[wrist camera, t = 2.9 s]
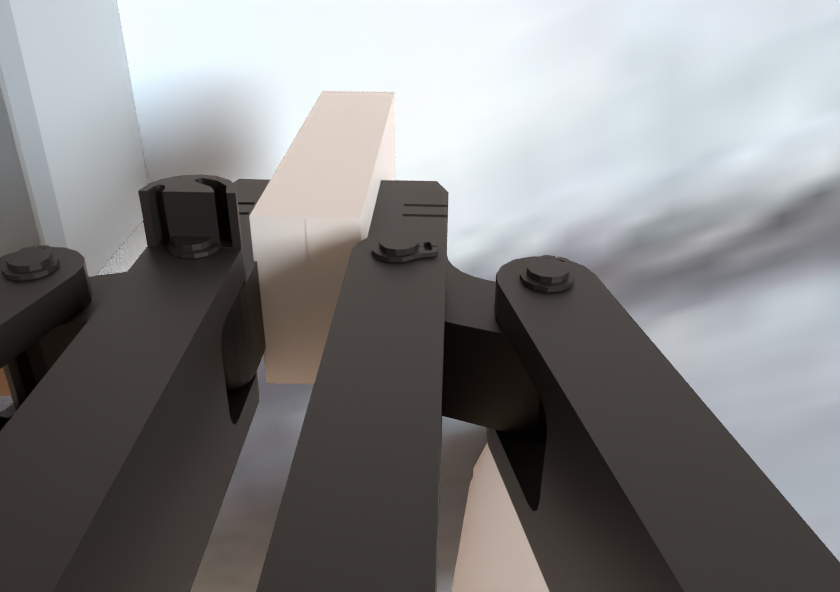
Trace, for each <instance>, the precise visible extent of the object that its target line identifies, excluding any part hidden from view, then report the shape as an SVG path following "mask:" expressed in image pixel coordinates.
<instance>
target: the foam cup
mask: <svg viewBox="0 0 840 592" xmlns="http://www.w3.org/2000/svg"><path fill="white" fill-rule="evenodd" d="M451 592H549V590H548V587H547V585H546V582H545V580H544V578H543V575H542V573H541V570H540V568H539V566H538V563H537V561H536V559H535V556H534V554H533V551H532V549H531V547H530V544H529V542H528V540H527V537H526V535H525V532H524V530H523V528H522V525H521V523H520V520H519V518H518V516H517V513H516V511H515V509H514V506H513V504H512V501H511V499H510V497H509V494H508V492H507V489H506V487H505V485H504V482H503V480H502V478H501V475H500V473H499V470H498V468H497V466H496V463H495V461H494V459H493V456H492V454H491V451H490V449H489V447H488V443H487V444H486V445H485V447H484V449H483V451H482V453H481V455H480V457H479V459H478V460H477V462H476V464H475V466H474V468H473V478H472V480H471V482H470V486H469V492H468V498H467V504H466V510H465V515H464V521H463V527H462V533H461V539H460V545H459V550H458V556H457V562H456V568H455V574H454V579H453V585H452V591H451Z"/></svg>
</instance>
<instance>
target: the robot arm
mask: <svg viewBox="0 0 840 592" xmlns="http://www.w3.org/2000/svg"><path fill="white" fill-rule="evenodd" d="M138 193H139V199H140V205H141V210H142V216H143V222H144V228H145V233H146V239H147V245H148V247H147V248H146V249H145V250H144V252H143V253H142V254H141V255H140V257H139V258H138V259H137V260H136V262H135V263H134V264H133V265H132V267H131V268H130V269H129V270H128V272H123V273H116V274H108V275H100V276H92V277H89V276H88V272H87V267H86V262H85V258H84V257H83V256H82V255H81V254H80V253H79V252H78V251H75V250H72V249H68V248H65V247H50V246H48V245H41V246H37V248H35V246H31V247H25V248H22V249H20V251H17V252H13V253H9V254H6V255H4V256H1V257H0V369H1V368H2V367H3V369H4V373H5V376H6V379H7V383H8V386H9V390H10V393H11V396H12V400H13V404H12V405H10V406H9V407H8V408H7V409H6V410H4V411H2V412H0V592H190V590H191V587H192V585H193V582H194V579H195V576H196V574H197V571H198V568H199V565H200V563H201V560H202V557H203V554H204V552H205V549H206V546H207V543H208V541H209V538H210V535H211V532H212V529H213V527H214V524H215V521H216V518H217V516H218V513H219V510H220V507H221V505H222V502H223V499H224V496H225V494H226V491H227V488H228V485H229V483H230V480H231V477H232V474H233V472H234V469H235V466H236V463H237V461H238V458H239V455H240V452H241V449H242V447H243V444H244V441H245V438H246V436H247V433H248V430H249V427H250V425H251V422H252V419H253V416H254V414H255V411H256V408H257V405H258V403H259V388H258V379H257V369H258V366H259V364H260V361H261V358H262V356H263V353H264V363H265V372H266V382H267V383H289V384H314V386H313V390H312V394H311V397H310V401H309V404H308V408H307V412H306V415H305V419H304V422H303V426H302V430H301V433H300V437H299V440H298V444H297V447H296V451H295V455H294V458H293V462H292V465H291V469H290V473H289V476H288V480H287V483H286V487H285V491H284V494H283V498H282V501H281V505H280V508H279V512H278V516H277V519H276V523H275V526H274V530H273V534H272V537H271V541H270V544H269V548H268V552H267V555H266V559H265V562H264V566H263V570H262V573H261V577H260V580H259V584H258V587H257V591H256V592H436V589H437V558H438V528H439V497H440V466H441V440H442V416H445V417H449V418H453V419H457V420H461V421H465V422H469V423H472V424H476V425H480V426H484V427H487V432H486V434H487V443H488V447H489V449H490V451H491V454H492V456H493V459H494V461H495V463H496V466H497V468H498V470H499V473H500V475H501V478H502V480H503V482H504V485H505V487H506V489H507V492H508V494H509V497H510V499H511V501H512V504H513V506H514V509H515V511H516V513H517V516H518V518H519V520H520V523H521V525H522V528H523V530H524V532H525V535H526V537H527V540H528V542H529V544H530V547H531V549H532V551H533V554H534V556H535V559H536V561H537V563H538V566H539V568H540V570H541V573H542V575H543V578H544V580H545V582H546V585H547V587H548V590H549V592H840V562H839V561H838V560H837V559H836V557H835V556H834V555H833V554H832V553H831V552H830V550H829V549H828V548H827V547H826V546H825V545H824V543H823V542H822V541H821V540H820V539H819V537H818V536H817V535H816V534H815V533H814V532H813V530H812V529H811V528H810V527H809V526H808V524H807V523H806V522H805V521H804V520H803V519H802V517H801V516H800V515H799V514H798V513H797V512H796V510H795V509H794V508H793V507H792V506H791V504H790V503H789V502H788V501H787V500H786V499H785V497H784V496H783V495H782V494H781V493H780V492H779V490H778V489H777V488H776V487H775V486H774V484H773V483H772V482H771V481H770V480H769V479H768V477H767V476H766V475H765V474H764V473H763V472H762V470H761V469H760V468H759V467H758V466H757V464H756V463H755V462H754V461H753V460H752V459H751V457H750V456H749V455H748V454H747V453H746V451H745V450H744V449H743V448H742V447H741V446H740V444H739V443H738V442H737V441H736V440H735V439H734V437H733V436H732V435H731V434H730V433H729V431H728V430H727V429H726V428H725V427H724V426H723V424H722V423H721V422H720V421H719V420H718V419H717V417H716V416H715V415H714V414H713V413H712V411H711V410H710V409H709V408H708V407H707V406H706V404H705V403H704V402H703V401H702V400H701V399H700V397H699V396H698V395H697V394H696V393H695V391H694V390H693V389H692V388H691V387H690V386H689V384H688V383H687V382H686V381H685V380H684V378H683V377H682V376H681V375H680V374H679V373H678V371H677V370H676V369H675V368H674V367H673V366H672V364H671V363H670V362H669V361H668V360H667V358H666V357H665V356H664V355H663V354H662V353H661V351H660V350H659V349H658V348H657V347H656V346H655V344H654V343H653V342H652V341H651V340H650V338H649V337H648V336H647V335H646V334H645V333H644V331H643V330H642V329H641V328H640V327H639V325H638V324H637V323H636V322H635V321H634V320H633V318H632V317H631V316H630V315H629V314H628V313H627V311H626V310H625V309H624V308H623V307H622V305H621V304H620V303H619V302H618V301H617V300H616V298H615V297H614V296H613V295H612V294H611V293H610V291H609V290H608V289H607V288H606V287H605V285H604V284H603V283H602V282H601V281H600V280H599V278H598V277H597V276H596V275H595V274H594V273H593V272H591V271H590V270H589V269H587V268H586V267H585V266H582V265H580V264H577V263H575V262H572V261H569V260H568V259H566V258H562V257H557V258H555V256H549V255H544V256H541V257H526V258H521V259H516V260H513V261H511V262H509V263H507V264H505V265H503V266H502V267H501V268H500V269H499V271H498V272H497V274H496V282H494V281H489V280H484V279H480V278H477V277H473V276H470V275H468V274H466V273H463V272H461V271H460V270H458V269H457V268H455V267H454V266H453V265H452V264H451V263H450V262H449V260H448V257H447V223H448V192H447V191H446V190H445V189H444V188H443V187H442V186H441V185H440V184H439V183H438V182H437V181H398V180H395V92H344V91H322V93H321V94H320V96H319V98H318V100H317V101H316V103H315V105H314V106H313V108H312V110H311V111H310V113H309V115H308V117H307V118H306V120H305V122H304V123H303V125H302V127H301V129H300V130H299V132H298V134H297V135H296V137H295V139H294V141H293V142H292V144H291V146H290V147H289V149H288V151H287V152H286V154H285V156H284V158H283V159H282V161H281V163H280V164H279V166H278V168H277V170H276V171H275V173H274V175H273V176H272V178H271V180H257V179H239V180H237V181H235V182H234V183H232V182H231V181H230V180H227V179H224V178H221V177H218V176H209V175H183V176H176V177H171V178H165V179H161V180H159V181H156V182H153V183H150V184H147V185H146V186H144V187H143V188H141V189H140V190H138Z"/></svg>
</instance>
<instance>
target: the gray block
mask: <svg viewBox="0 0 840 592" xmlns="http://www.w3.org/2000/svg"><path fill="white" fill-rule="evenodd" d="M147 184H148V178H147V172H146V166H145V161H144V155H143V149H142V143H141V137H140V132H139V126H138V120H137V114H136V108H135V103H134V97H133V91H132V85H131V80H130V74H129V68H128V62H127V56H126V51H125V45H124V39H123V33H122V27H121V22H120V16H119V10H118V4H117V0H0V257H1V256H4V255H6V254H9V253H13V252H17V251H20V249H22V248H25V247H31V246H35V248H37V246H41V245H48V246H50V247H65V248H68V249H72V250H75V251H78V252H79V253H80V254H81V255H82V256H83V257H84V258H85V262H86V267H87V272H88V276H89V277H92V276H96V275H97V274H98V273H99V271H100V270H101V269H102V268H103V267H104V266H105V264H106V263H107V262H108V261H109V260H110V258H111V257H112V256H113V255H114V254H115V253H116V251H117V250H118V249H119V248H120V247H121V246H122V244H123V243H124V242H125V241H126V240H127V239H128V237H129V236H130V235H131V234H132V233H133V232H134V230H135V229H136V228H137V227H138V226H139V225H140V223H141V222H142V221H143V216H142V210H141V205H140V199H139V193H138V190H140V189H141V188H143V187H144V186H146V185H147Z"/></svg>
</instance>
